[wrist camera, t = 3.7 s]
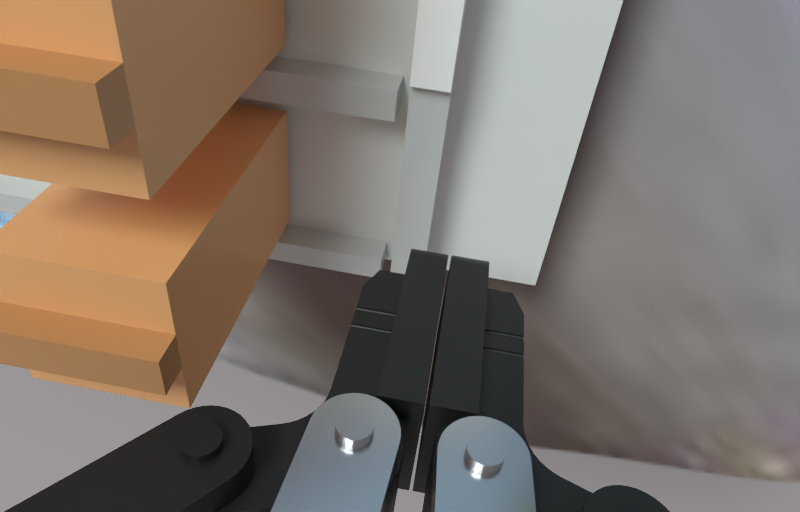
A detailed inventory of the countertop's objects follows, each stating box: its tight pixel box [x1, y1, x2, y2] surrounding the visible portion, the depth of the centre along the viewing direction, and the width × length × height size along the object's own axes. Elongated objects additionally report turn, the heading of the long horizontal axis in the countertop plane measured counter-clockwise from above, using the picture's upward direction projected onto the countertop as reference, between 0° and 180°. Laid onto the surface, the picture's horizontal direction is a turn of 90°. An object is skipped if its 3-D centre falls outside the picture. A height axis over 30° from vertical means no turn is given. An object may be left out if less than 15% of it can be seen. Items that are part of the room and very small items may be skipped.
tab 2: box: [0, 103, 289, 408], centre depth 12 cm, size 3×3×7 cm
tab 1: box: [0, 0, 285, 200], centre depth 10 cm, size 3×3×7 cm
